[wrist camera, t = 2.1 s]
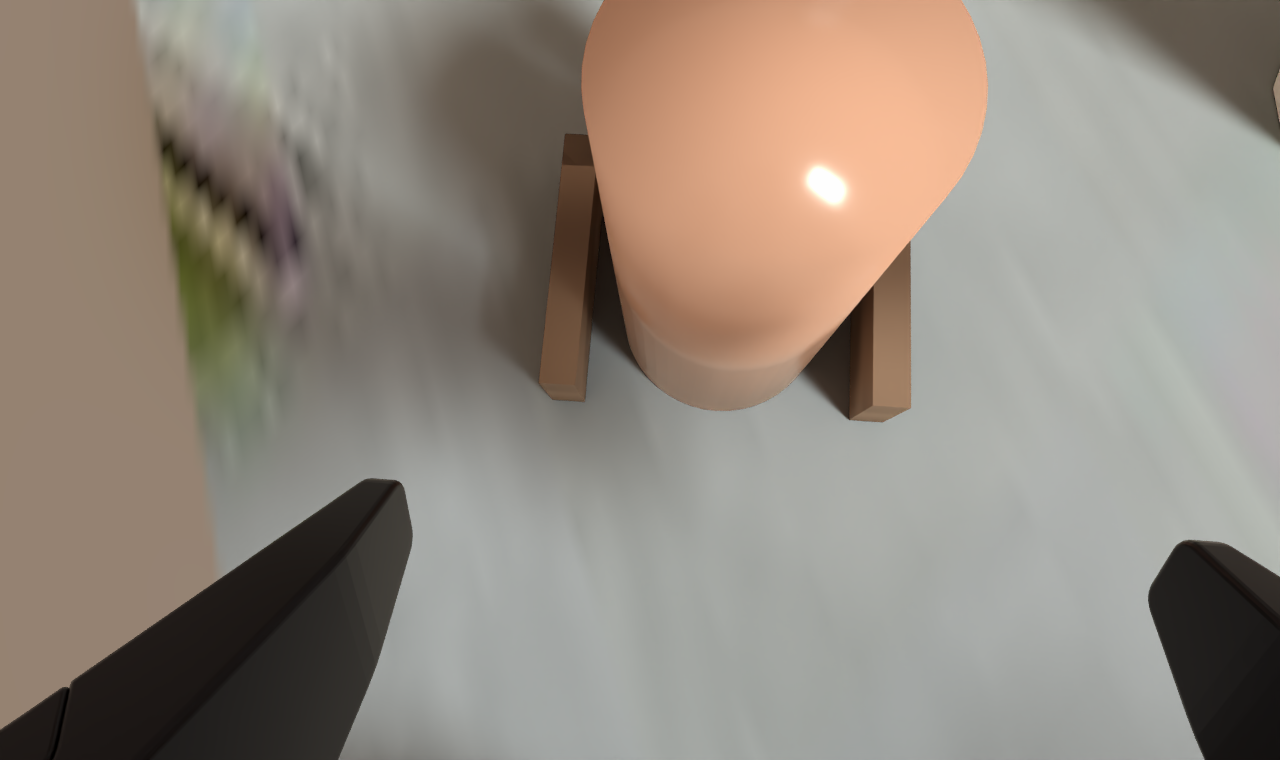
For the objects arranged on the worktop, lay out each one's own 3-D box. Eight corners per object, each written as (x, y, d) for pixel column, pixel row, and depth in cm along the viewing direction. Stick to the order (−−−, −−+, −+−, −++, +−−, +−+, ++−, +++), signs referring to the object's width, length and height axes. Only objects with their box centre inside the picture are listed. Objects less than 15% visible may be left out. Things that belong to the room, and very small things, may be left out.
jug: (815, 417, 22) (993, 277, 10) (617, 403, 22) (562, 252, 10) (822, 160, 23) (979, -216, 12) (638, 151, 24) (613, -226, 12)
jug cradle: (882, 422, 22) (911, 408, 19) (552, 399, 22) (538, 382, 20) (884, 191, 23) (909, 151, 21) (575, 175, 24) (565, 133, 21)
